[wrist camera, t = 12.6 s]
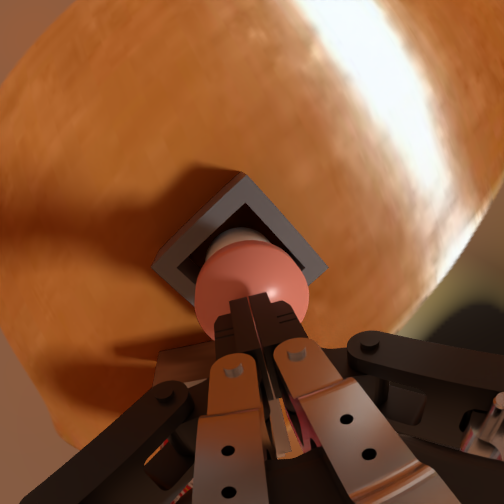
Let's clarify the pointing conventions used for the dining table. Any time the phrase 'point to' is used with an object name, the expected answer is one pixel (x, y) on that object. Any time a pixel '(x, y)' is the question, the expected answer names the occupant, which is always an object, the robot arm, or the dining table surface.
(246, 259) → the dome plunger
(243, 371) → the robot arm
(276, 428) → the corral
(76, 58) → the dining table surface
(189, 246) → the button frame
